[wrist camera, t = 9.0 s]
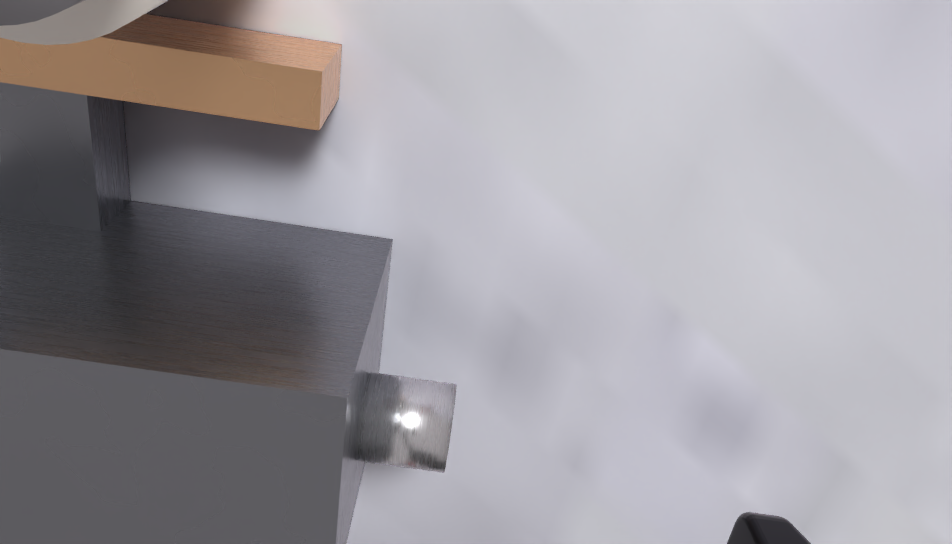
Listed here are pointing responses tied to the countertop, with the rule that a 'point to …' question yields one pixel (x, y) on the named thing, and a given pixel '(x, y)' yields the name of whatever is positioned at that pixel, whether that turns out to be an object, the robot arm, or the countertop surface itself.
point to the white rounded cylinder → (67, 19)
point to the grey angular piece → (183, 313)
